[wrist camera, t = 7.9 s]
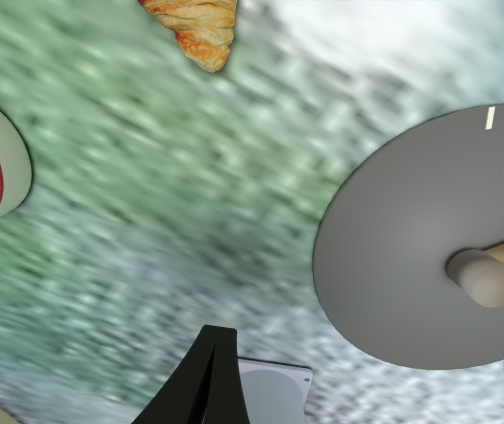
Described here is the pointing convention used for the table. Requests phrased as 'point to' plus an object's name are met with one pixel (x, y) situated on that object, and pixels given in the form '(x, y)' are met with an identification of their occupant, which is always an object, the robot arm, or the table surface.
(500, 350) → the dial
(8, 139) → the fruit juice
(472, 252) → the pointer
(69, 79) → the table surface
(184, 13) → the croissant
